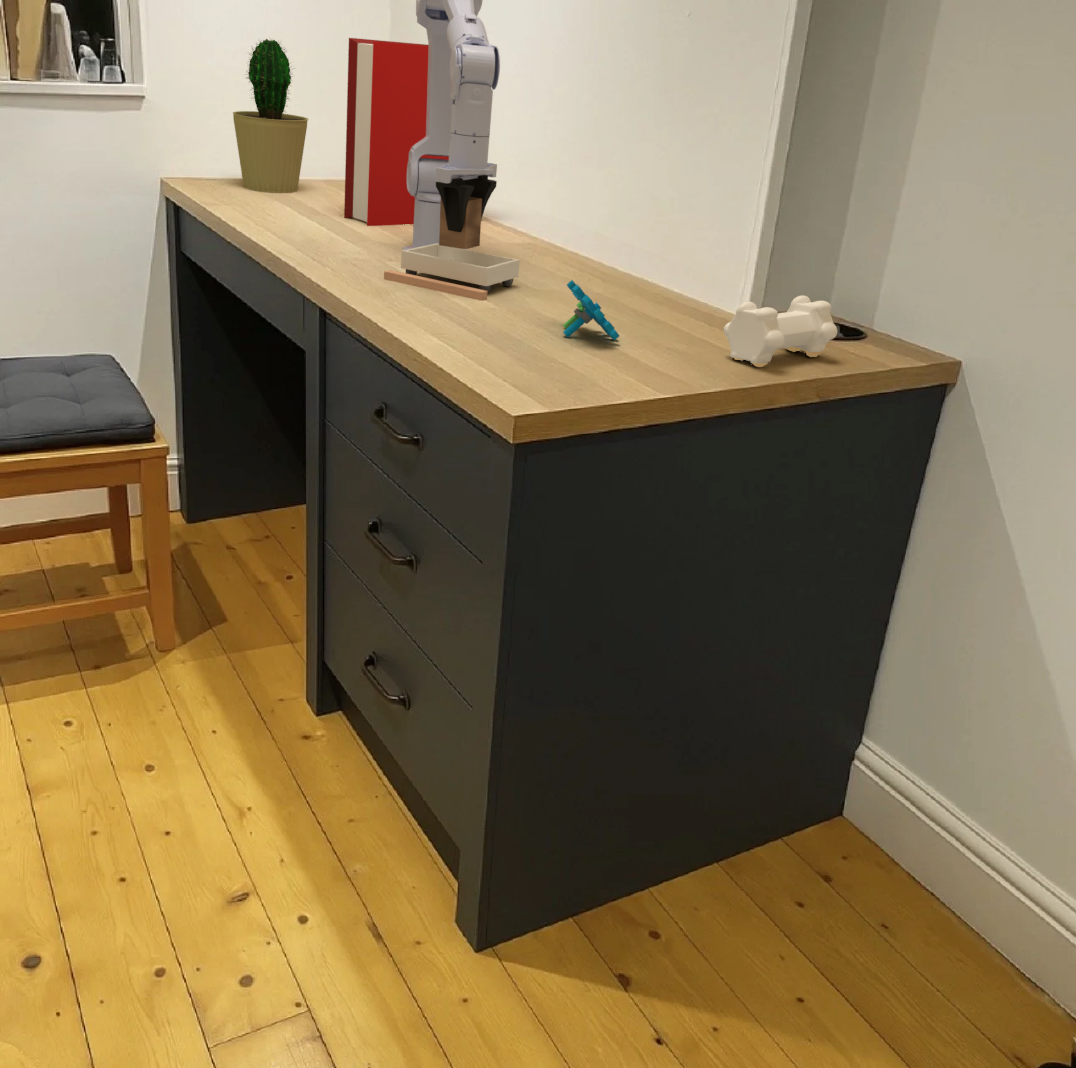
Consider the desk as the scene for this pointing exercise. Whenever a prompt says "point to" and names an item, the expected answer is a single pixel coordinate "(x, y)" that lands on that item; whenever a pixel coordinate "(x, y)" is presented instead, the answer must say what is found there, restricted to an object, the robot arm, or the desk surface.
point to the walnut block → (470, 228)
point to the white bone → (779, 329)
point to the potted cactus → (270, 126)
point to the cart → (461, 265)
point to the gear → (587, 314)
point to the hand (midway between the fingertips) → (463, 229)
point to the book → (383, 128)
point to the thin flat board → (435, 285)
